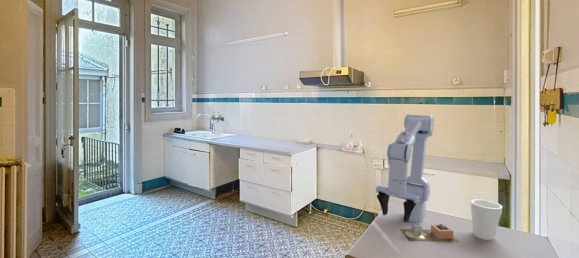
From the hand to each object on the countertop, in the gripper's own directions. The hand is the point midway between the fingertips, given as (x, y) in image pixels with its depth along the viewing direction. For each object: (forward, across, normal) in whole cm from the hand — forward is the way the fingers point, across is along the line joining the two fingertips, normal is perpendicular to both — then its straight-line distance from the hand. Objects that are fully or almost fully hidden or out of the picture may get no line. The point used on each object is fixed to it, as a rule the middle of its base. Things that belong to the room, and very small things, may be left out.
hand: (395, 217), depth 98 cm
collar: (+9, +9, +18) cm, 22 cm away
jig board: (+10, +6, +15) cm, 19 cm away
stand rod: (+10, +9, +18) cm, 23 cm away
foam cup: (+10, +20, +30) cm, 37 cm away
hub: (+10, +3, +11) cm, 15 cm away
